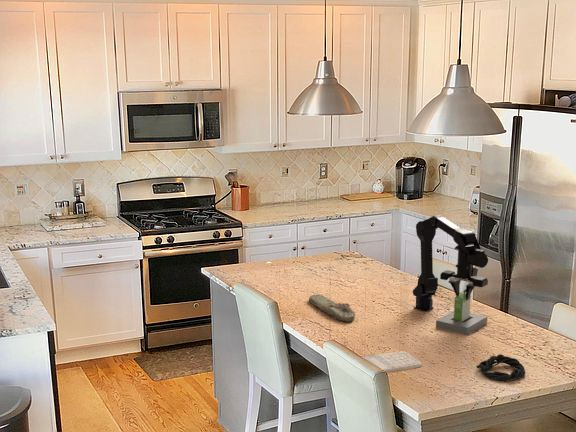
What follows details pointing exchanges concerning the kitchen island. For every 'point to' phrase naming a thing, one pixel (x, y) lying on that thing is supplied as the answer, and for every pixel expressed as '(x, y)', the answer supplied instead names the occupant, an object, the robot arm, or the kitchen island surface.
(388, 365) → the calculator
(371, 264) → the kitchen island surface
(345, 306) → the long grey stone
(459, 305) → the ink box
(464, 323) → the pocket plate
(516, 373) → the cable
